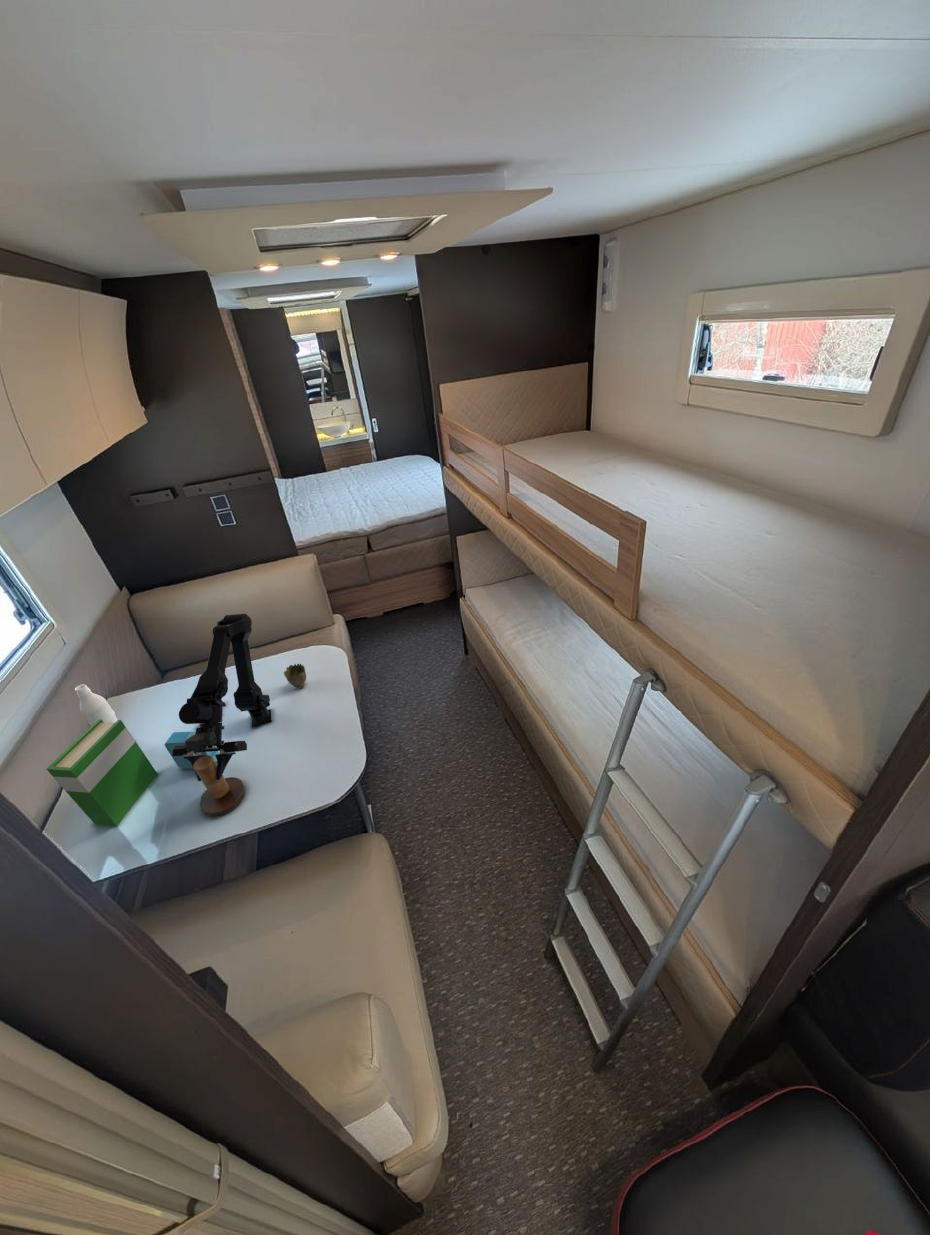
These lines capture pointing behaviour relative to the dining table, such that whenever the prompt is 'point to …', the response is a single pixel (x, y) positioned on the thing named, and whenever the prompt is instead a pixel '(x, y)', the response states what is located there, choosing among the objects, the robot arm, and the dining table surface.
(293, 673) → the olive tapered rounded piece
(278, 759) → the dining table surface
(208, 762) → the oak column
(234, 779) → the walnut disc
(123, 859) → the dining table surface
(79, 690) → the water bottle
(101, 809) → the hardback book
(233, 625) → the robot arm
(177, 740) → the data package
